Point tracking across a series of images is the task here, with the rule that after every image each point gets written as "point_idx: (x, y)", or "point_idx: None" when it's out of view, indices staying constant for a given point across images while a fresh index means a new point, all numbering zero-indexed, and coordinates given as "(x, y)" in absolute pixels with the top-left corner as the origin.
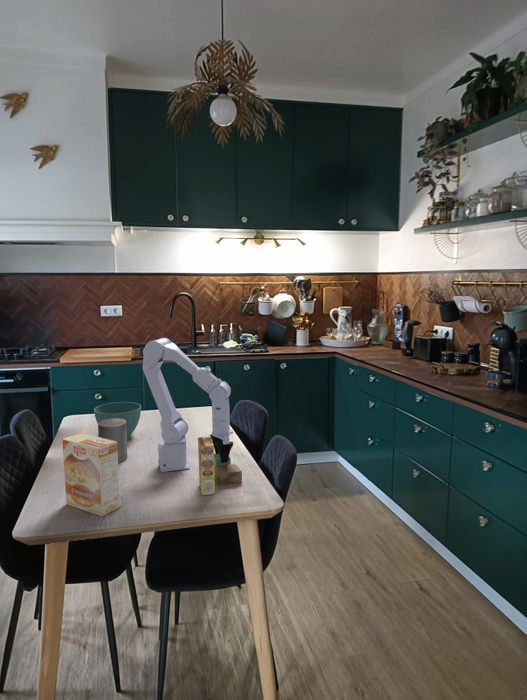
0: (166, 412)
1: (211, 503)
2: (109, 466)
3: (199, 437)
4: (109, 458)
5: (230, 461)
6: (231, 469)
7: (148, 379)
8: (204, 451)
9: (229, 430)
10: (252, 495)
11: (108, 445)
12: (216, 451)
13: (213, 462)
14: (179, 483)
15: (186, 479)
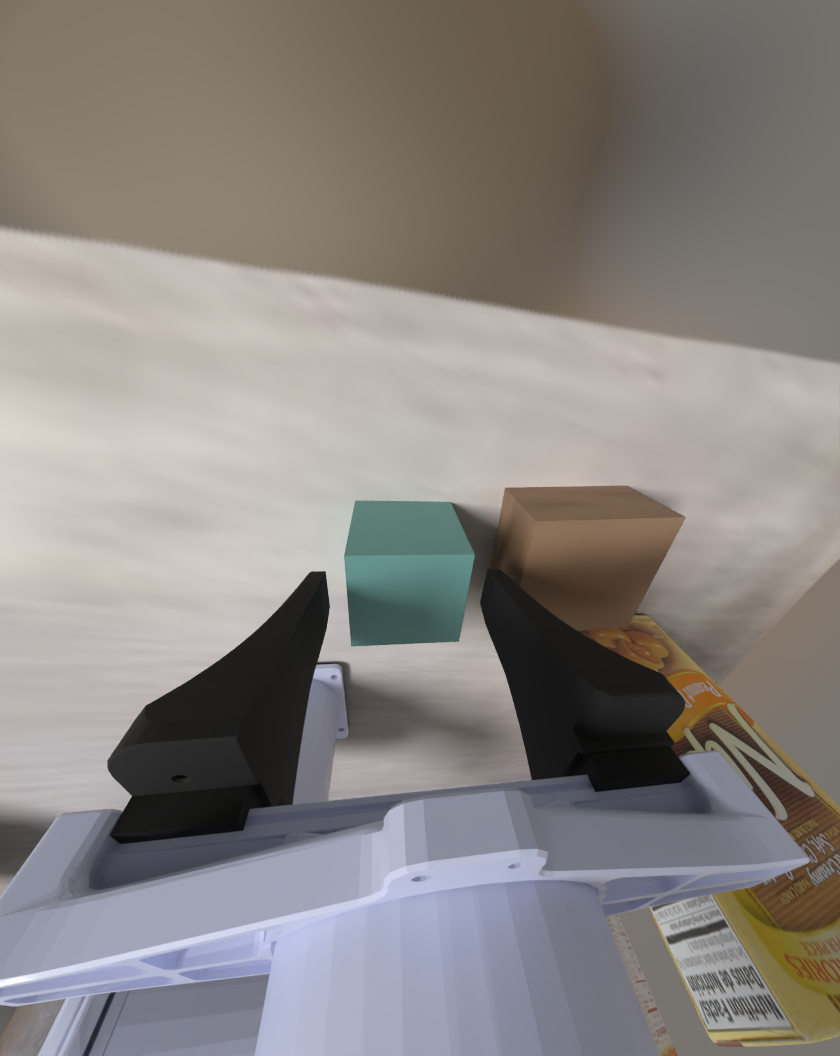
0: None
1: (695, 632)
2: (635, 974)
3: (729, 1045)
4: (654, 1024)
5: (466, 536)
6: (614, 567)
7: None
8: None
9: (566, 954)
10: (786, 484)
11: None
12: (324, 630)
13: (810, 780)
14: (477, 693)
15: (452, 675)
